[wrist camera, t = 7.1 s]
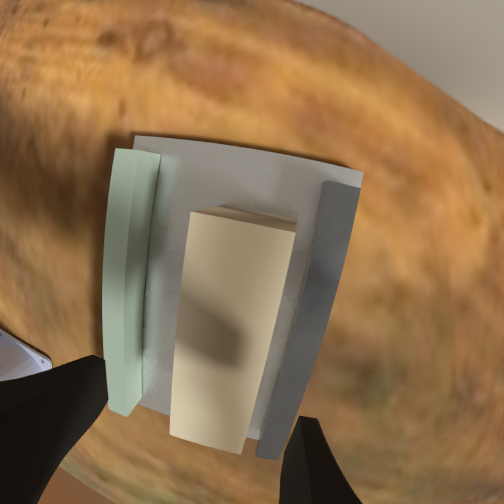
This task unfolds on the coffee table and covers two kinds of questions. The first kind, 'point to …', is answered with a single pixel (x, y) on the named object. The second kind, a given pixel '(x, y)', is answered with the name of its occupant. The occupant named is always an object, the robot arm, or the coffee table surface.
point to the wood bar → (226, 321)
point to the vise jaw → (126, 273)
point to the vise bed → (298, 275)
